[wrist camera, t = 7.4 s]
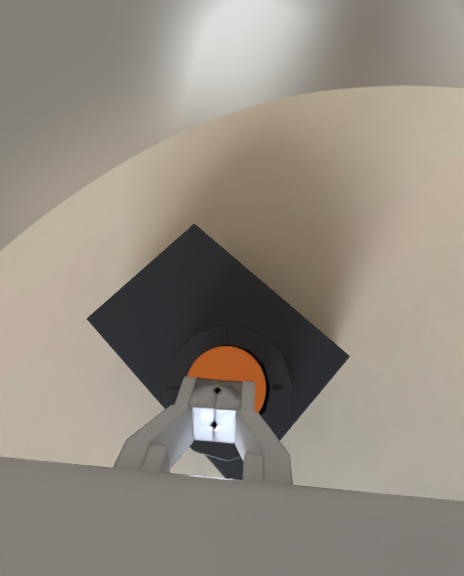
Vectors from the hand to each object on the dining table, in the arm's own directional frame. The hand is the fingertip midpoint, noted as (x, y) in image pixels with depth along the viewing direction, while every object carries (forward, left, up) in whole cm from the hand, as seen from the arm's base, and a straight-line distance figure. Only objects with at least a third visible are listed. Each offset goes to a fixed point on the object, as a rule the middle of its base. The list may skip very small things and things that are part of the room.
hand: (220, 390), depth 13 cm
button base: (-2, -3, -11) cm, 12 cm away
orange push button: (0, 0, -4) cm, 4 cm away
